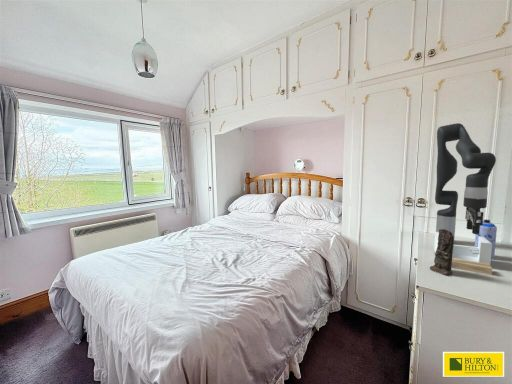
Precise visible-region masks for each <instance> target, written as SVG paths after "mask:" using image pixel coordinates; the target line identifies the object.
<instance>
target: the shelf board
mask: <svg viewBox="0 0 512 384" xmlns="http://www.w3.org/2000/svg"><path fill="white" fill-rule="evenodd" d="M451 269H457V270H461V271H468V272H472V273H477V274H484V275H490V276H492V275H493V267H492V266H491V264H490V265H489V264H487V263H480V262H474V261H468V260H462V259H456V258H452V265H451Z"/></svg>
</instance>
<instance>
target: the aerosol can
mask: <svg viewBox="0 0 512 384" xmlns="http://www.w3.org/2000/svg"><path fill="white" fill-rule="evenodd" d="M497 232H498V229H497V226H496V225H495V224H494V223H492V222H491V220H490V219H483V225H482V226H480V232H479V234H474V235H475V237H474V247H478V239H479V236H480V237H484V238H485V239H487V240H488V241H489V242H490V243H492V251H491V260H495V251H496V240H497Z"/></svg>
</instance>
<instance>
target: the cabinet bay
mask: <svg viewBox="0 0 512 384" xmlns="http://www.w3.org/2000/svg"><path fill="white" fill-rule="evenodd" d="M438 236H439V232H436V231H435V232H434V246H433V247H434V248H433V249H434V250H433V254H434V255H435V253H436V250H437V246H438ZM491 251H492V243H490V242H489V241H488V240H487V239H485V238H484V237H480V236H479V239H478V247H475V246H469V245H460V244H454V246H453V255H452V258H456V259H462V260H468V261H474V262H480V263H487V264H489V265H490V266H491V260H492V259H491Z"/></svg>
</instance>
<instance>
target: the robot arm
mask: <svg viewBox="0 0 512 384" xmlns="http://www.w3.org/2000/svg"><path fill="white" fill-rule="evenodd" d="M454 141H457V142H456V145H455V149H456V152H457V153H458V155H459V156H460V157H461V164H462V166H463V167H464V168H466V169H467V170H468V169H469V170H470V169H471V170H474V169H476V170H477V169H479V170H478V172H476V173H470V174H467V176H466V177H465V189H464V194H463V207H465V218H464V219H465V220H466V227H465V228H466V229H467V230H470V231H471V230H472V231H471V233H472V234H473V235H476V234H479V232H480V226H482V225H483V222H484V211H481V209H486V208H487V205H488V196H489V195H488V193H489V192H488V184H489V177H490V176H491V173H492V171H493V168H494V167H495V164H496V161H497V158H496V156H495V154H493V153H492V152H482V151H481V148H480V146H478V145H477V144H476V143H475V142H474V141H473V139H472V138H471V136H470V135H469V132H468V131H467V129H466V127H465V126H464V125H463V124H462V123H459V122H458V123H452V124H446V125H442V126H439V127H438V128H437V131H436V144H437V145H436V146H437V155H436V156H437V157H436V158H437V160H436V187H435V194H434V202H435V204H436V205H443V206H449V207H447V208H441V209H439V210H437V211H436V226H435V232H439V229H446V230H449V231H450V232H451V233H452V235H453V237H454V239H455V236H456V223H457V222H456V221H457V209H458V207H457V206H458V200H459V193H458V191H456V190H444V188H445V186H446V185H447V183H449V181H451V180H452V179H453V178H454V177H455V176H456V175H457V172H458V161H457V159H456V158H455V156H454V155H453V154H452V153H451V152H450V151H449V150H448V148H447V145H446V144H447V143H448V142H454Z"/></svg>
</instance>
